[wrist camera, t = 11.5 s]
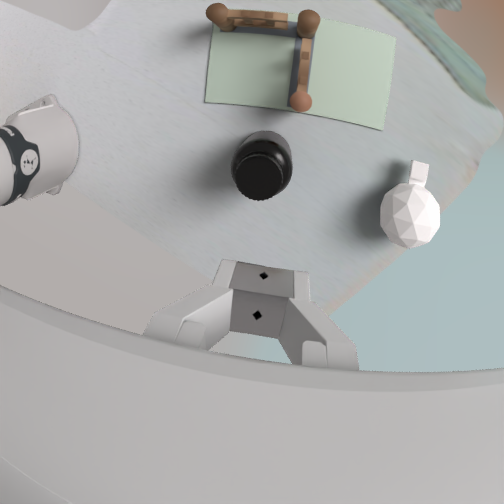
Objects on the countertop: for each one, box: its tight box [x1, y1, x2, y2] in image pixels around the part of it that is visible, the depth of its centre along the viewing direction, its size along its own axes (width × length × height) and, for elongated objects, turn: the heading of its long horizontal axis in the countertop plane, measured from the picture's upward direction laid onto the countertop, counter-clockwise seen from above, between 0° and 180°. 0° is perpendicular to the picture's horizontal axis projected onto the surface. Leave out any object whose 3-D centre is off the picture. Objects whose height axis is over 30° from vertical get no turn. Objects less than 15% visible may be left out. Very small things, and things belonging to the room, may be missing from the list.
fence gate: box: [290, 38, 312, 112], centre depth 29 cm, size 9×2×6 cm, turn 175°
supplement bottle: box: [231, 131, 293, 201], centre depth 33 cm, size 7×7×12 cm
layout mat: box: [205, 9, 396, 130], centre depth 31 cm, size 24×14×1 cm, turn 84°
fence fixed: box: [206, 3, 320, 39], centre depth 26 cm, size 12×2×7 cm, turn 84°
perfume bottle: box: [380, 160, 440, 249], centre depth 35 cm, size 9×9×12 cm
